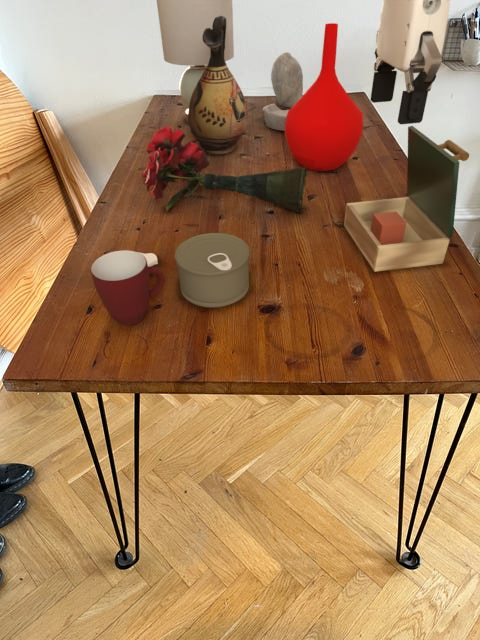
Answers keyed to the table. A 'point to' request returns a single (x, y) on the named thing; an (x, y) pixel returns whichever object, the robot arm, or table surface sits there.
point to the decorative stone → (287, 80)
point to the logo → (150, 259)
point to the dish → (275, 117)
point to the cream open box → (418, 242)
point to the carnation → (189, 161)
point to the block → (388, 228)
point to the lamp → (192, 36)
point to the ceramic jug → (217, 99)
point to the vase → (324, 117)
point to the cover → (434, 178)
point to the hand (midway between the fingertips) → (394, 111)
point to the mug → (125, 284)
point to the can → (213, 269)
